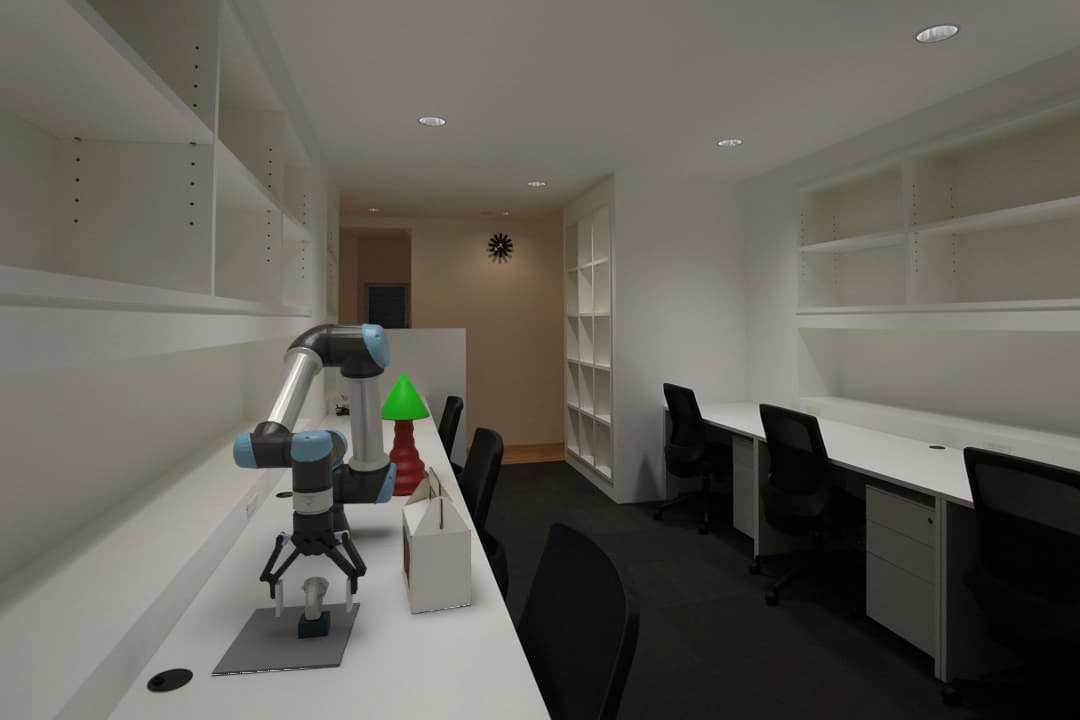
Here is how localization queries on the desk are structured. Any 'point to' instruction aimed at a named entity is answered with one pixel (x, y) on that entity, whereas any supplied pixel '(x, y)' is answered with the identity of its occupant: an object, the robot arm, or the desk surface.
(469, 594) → the gable box
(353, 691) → the desk surface
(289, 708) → the desk surface
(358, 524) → the desk surface
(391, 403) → the table lamp
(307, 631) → the watch
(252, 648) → the rubber mat
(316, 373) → the robot arm
